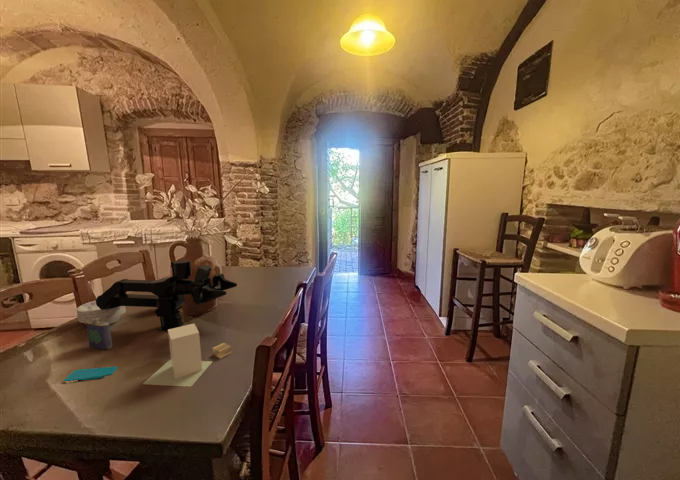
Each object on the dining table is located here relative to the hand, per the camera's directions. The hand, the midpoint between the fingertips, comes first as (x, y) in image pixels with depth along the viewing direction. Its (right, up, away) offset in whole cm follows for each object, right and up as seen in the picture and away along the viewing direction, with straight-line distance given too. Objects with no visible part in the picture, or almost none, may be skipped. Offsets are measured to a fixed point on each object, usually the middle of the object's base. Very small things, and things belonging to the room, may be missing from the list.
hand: (231, 288), depth 113 cm
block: (+2, -19, -15) cm, 24 cm away
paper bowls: (-55, -15, +9) cm, 58 cm away
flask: (-41, -19, -10) cm, 47 cm away
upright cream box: (-5, -20, -22) cm, 31 cm away
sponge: (-32, -22, -25) cm, 46 cm away
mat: (-7, -21, -24) cm, 33 cm away
